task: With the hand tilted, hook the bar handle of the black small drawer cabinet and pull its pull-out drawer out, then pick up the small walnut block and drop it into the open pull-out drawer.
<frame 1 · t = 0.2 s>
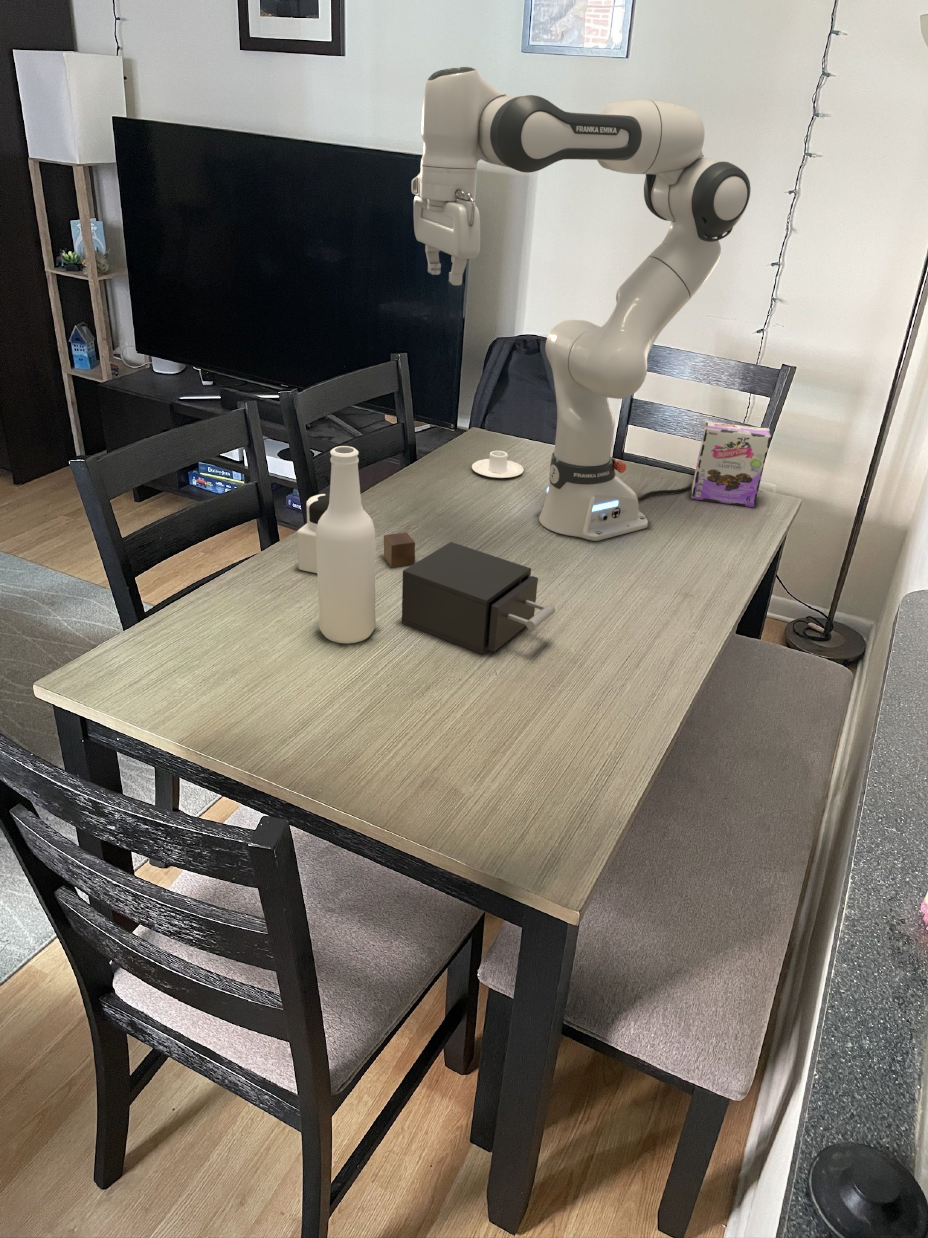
hand: (444, 279, 148), 48 cm above the table, tool pointing down, fingers open, 8 cm apart
small drawer cabinet: (464, 621, 146), on the table
container: (327, 566, 161), on the table
candle holder: (497, 471, 206), on the table
block: (399, 560, 164), on the table
pull-out drawer: (491, 604, 142), point 5 cm above the table, slide at 0.5 cm
candy box: (722, 499, 199), on the table
alcohol: (347, 631, 142), on the table
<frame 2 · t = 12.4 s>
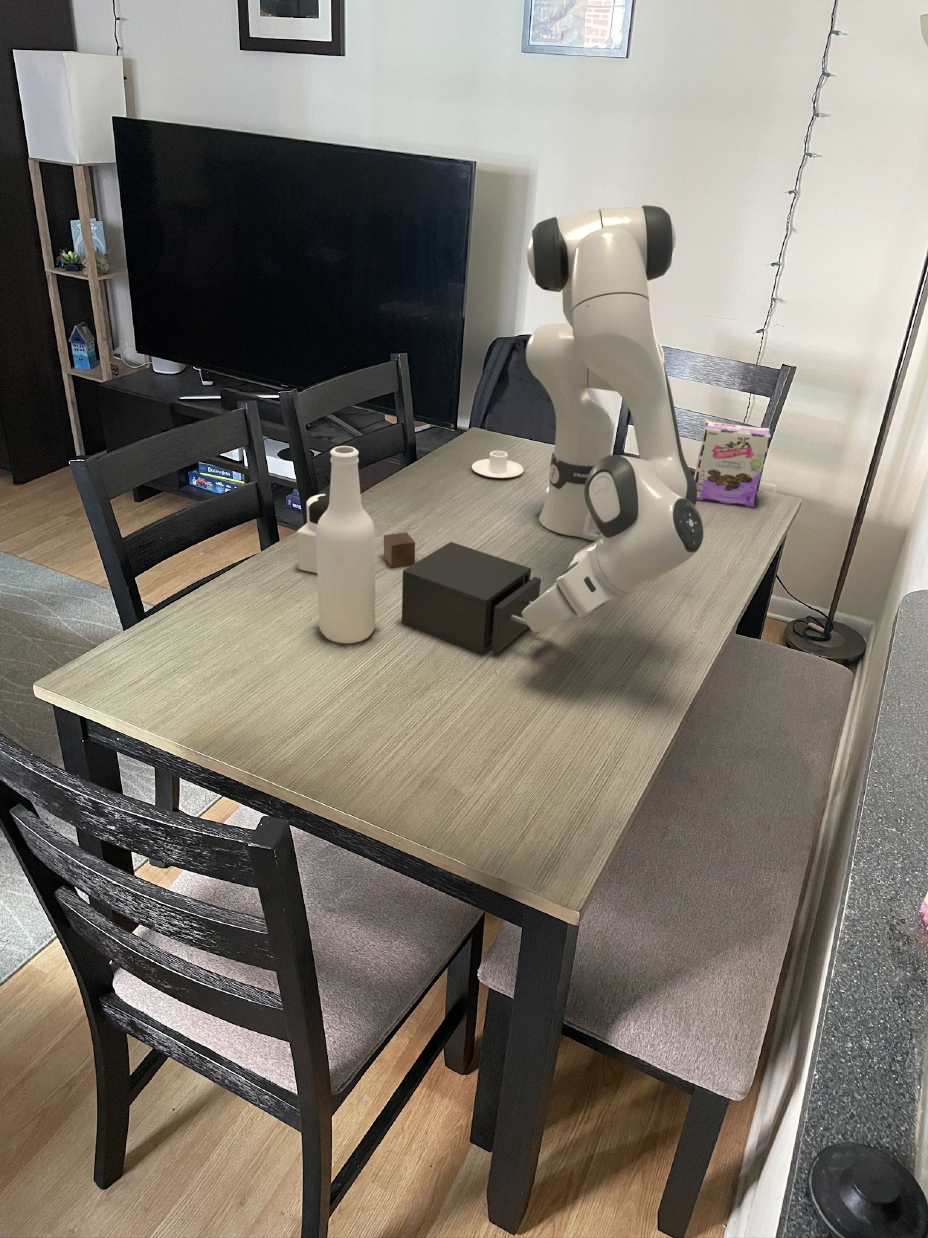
hand: (536, 610, 137), 7 cm above the table, tool tilted 45°, fingers closed, pressing on pull-out drawer
pull-out drawer: (493, 605, 141), point 5 cm above the table, slide at 1.1 cm, touching gripper
everything else where it was.
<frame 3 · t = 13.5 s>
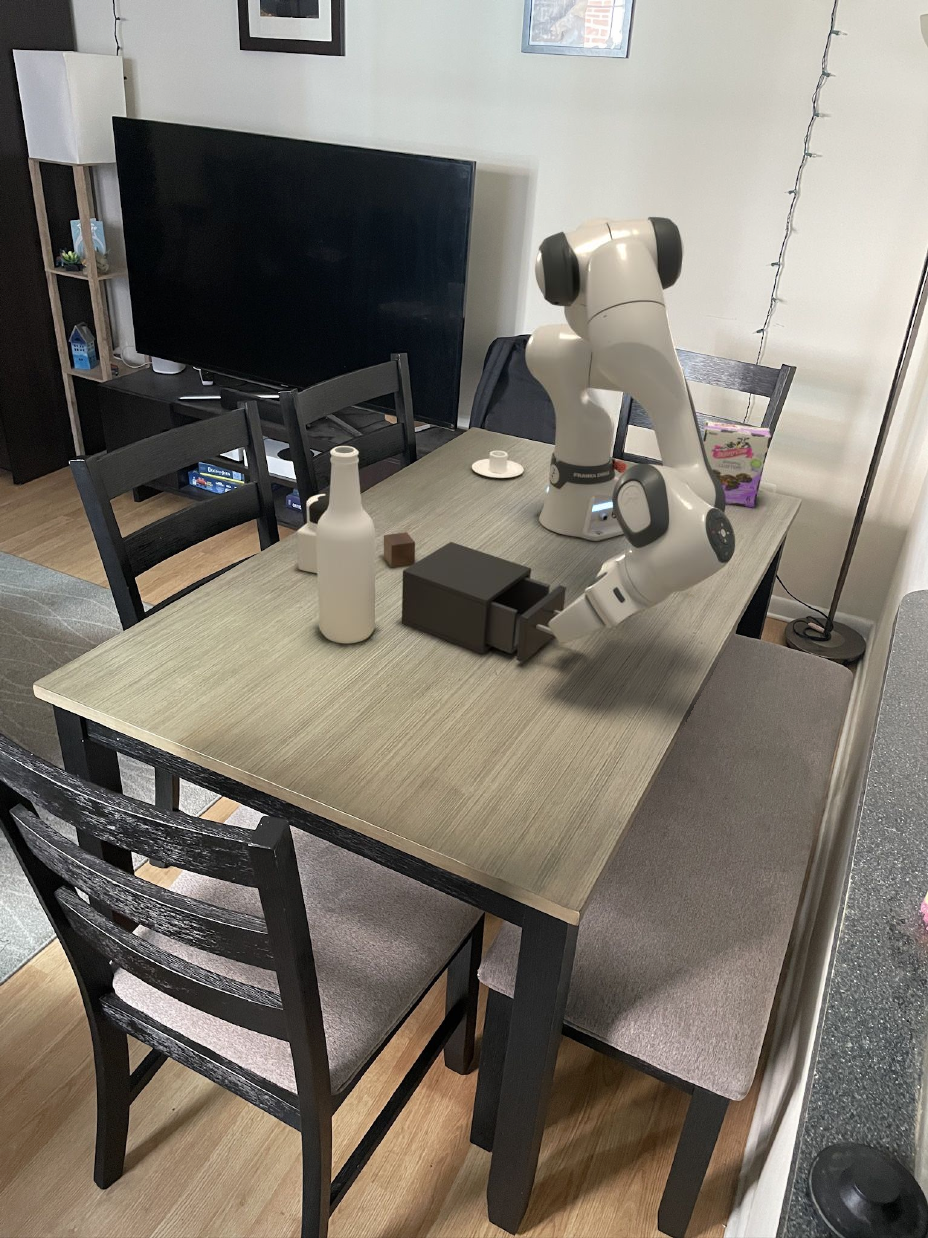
hand: (561, 620, 135), 7 cm above the table, tool tilted 45°, fingers closed, pressing on pull-out drawer
pull-out drawer: (518, 614, 139), point 5 cm above the table, slide at 5.6 cm, touching gripper
everything else where it was.
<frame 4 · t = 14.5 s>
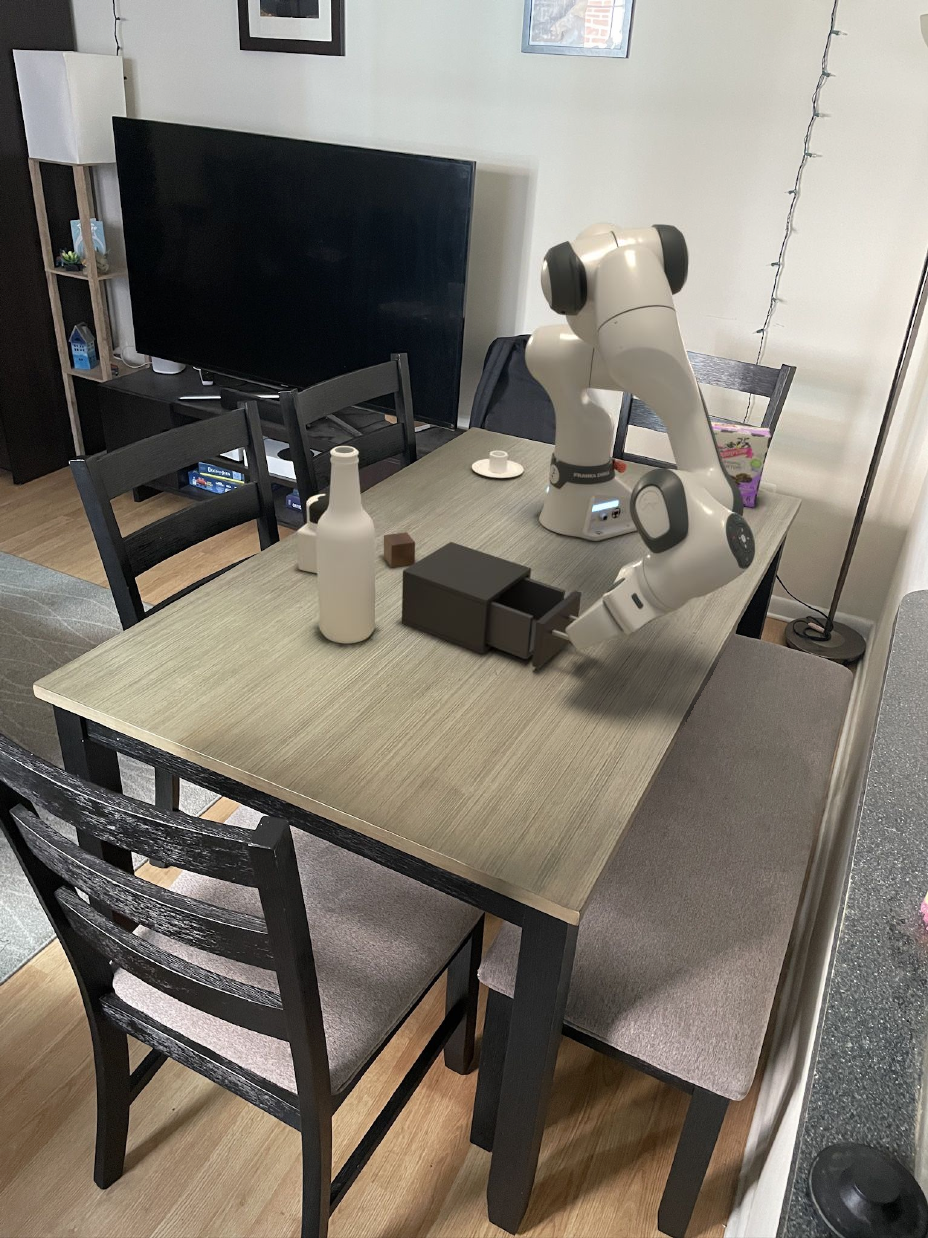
hand: (576, 626, 134), 7 cm above the table, tool tilted 45°, fingers closed, pressing on pull-out drawer
pull-out drawer: (533, 620, 138), point 5 cm above the table, slide at 8.2 cm, touching gripper
everything else where it was.
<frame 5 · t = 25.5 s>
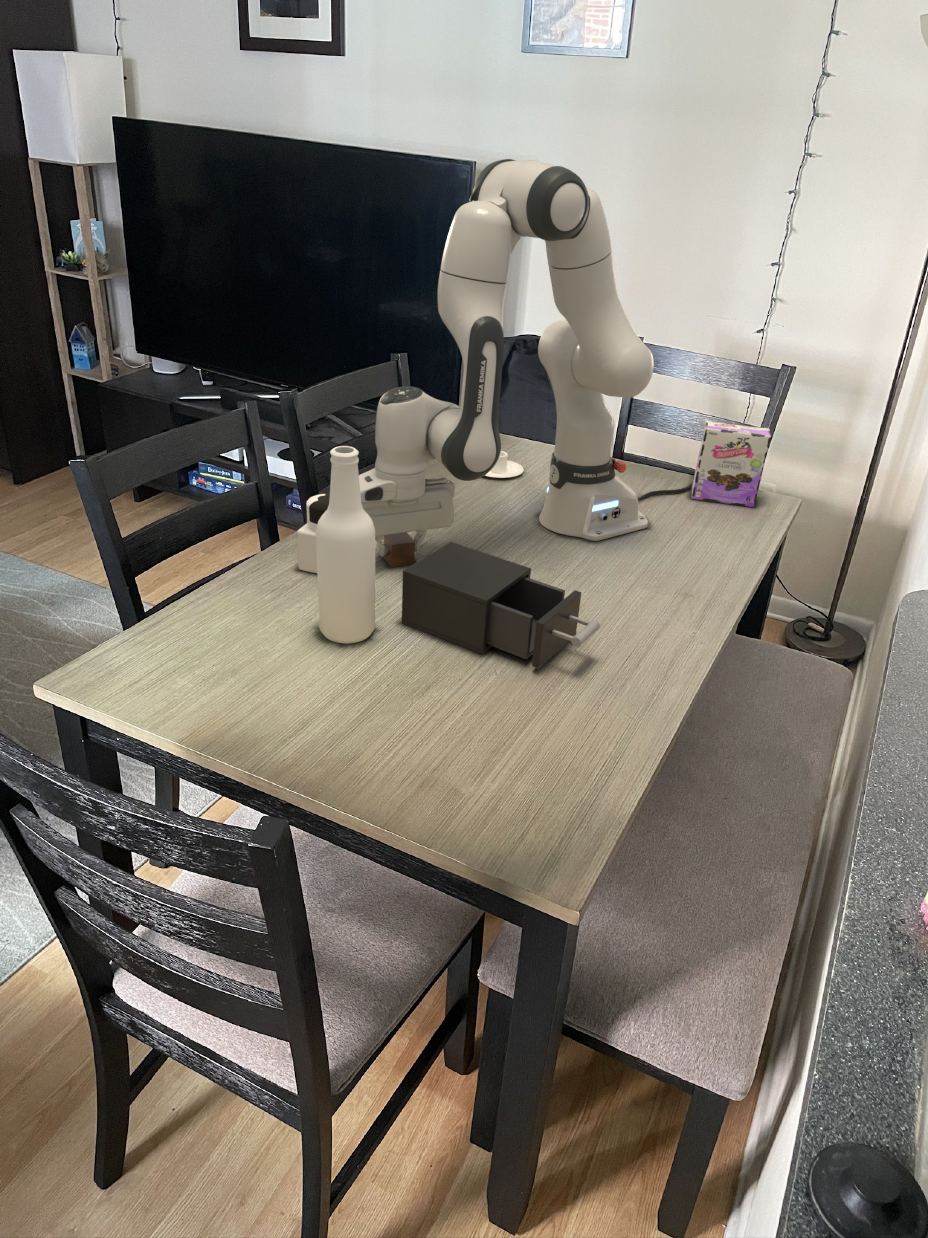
hand: (399, 552, 163), 2 cm above the table, tool pointing down, fingers closed on block, 4 cm apart
block: (399, 560, 164), on the table, touching gripper
pull-out drawer: (533, 620, 138), point 5 cm above the table, slide at 8.2 cm
everything else where it was.
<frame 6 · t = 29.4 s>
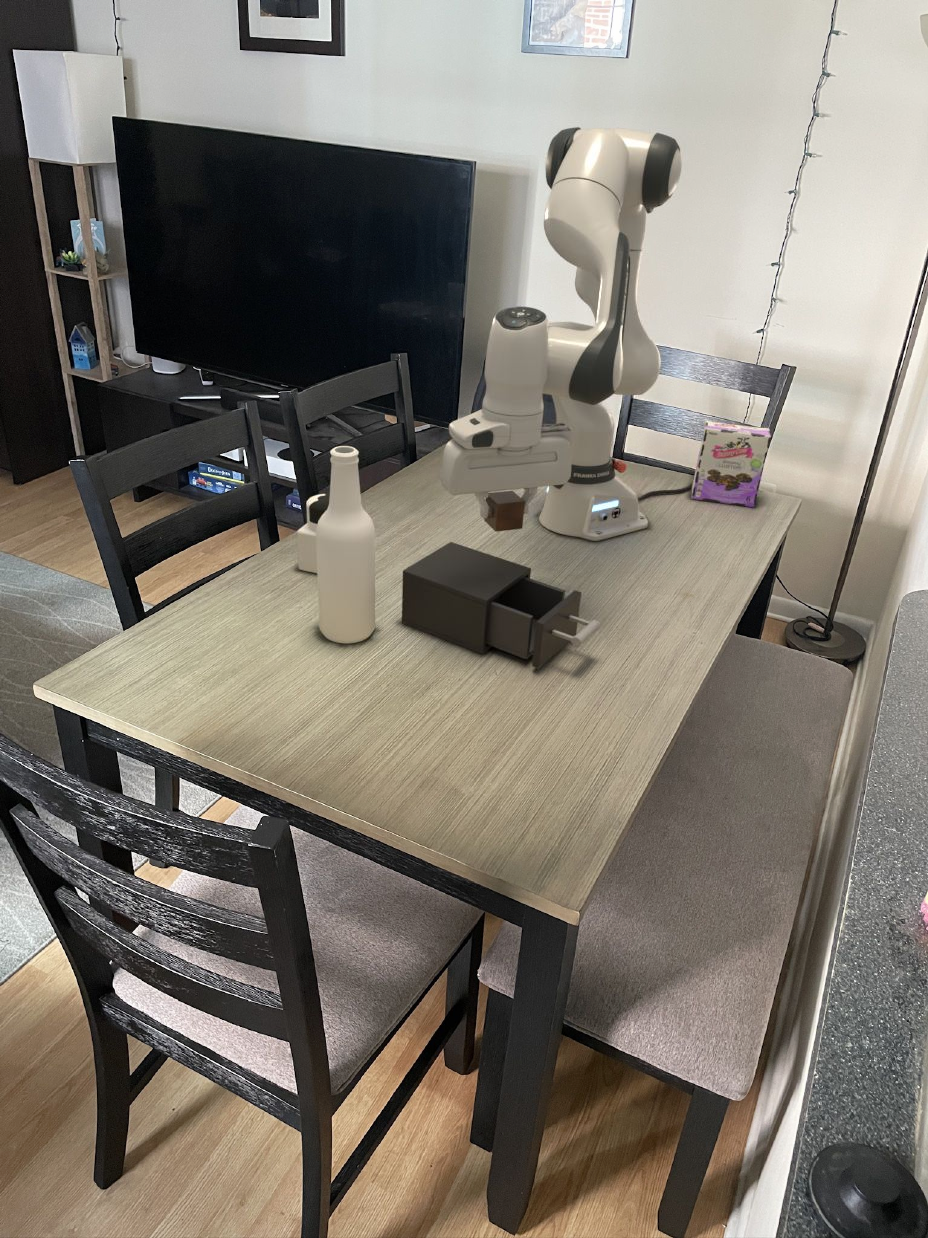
hand: (503, 514, 136), 19 cm above the table, tool pointing down, fingers closed on block, 4 cm apart
block: (503, 524, 137), point 18 cm above the table, touching gripper
everything else where it was.
when the fingers open (8 cm above the table, at t = 33.3 s): block drops 4 cm, resting on pull-out drawer.
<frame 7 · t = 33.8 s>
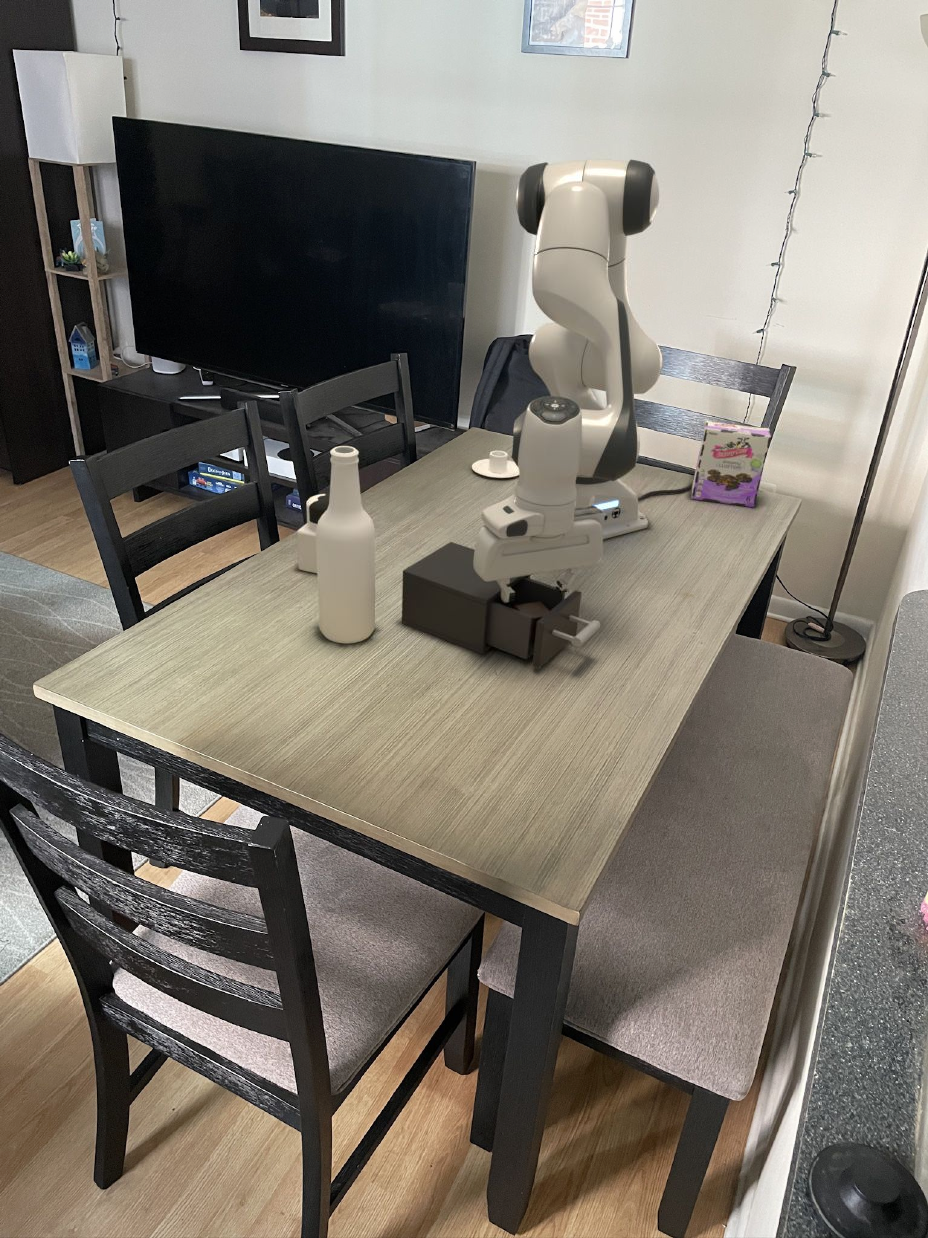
hand: (535, 595, 136), 9 cm above the table, tool pointing down, fingers open, 8 cm apart
block: (531, 634, 140), point 2 cm above the table, touching pull-out drawer
pull-out drawer: (533, 620, 138), point 5 cm above the table, slide at 8.3 cm, touching block
everything else where it was.
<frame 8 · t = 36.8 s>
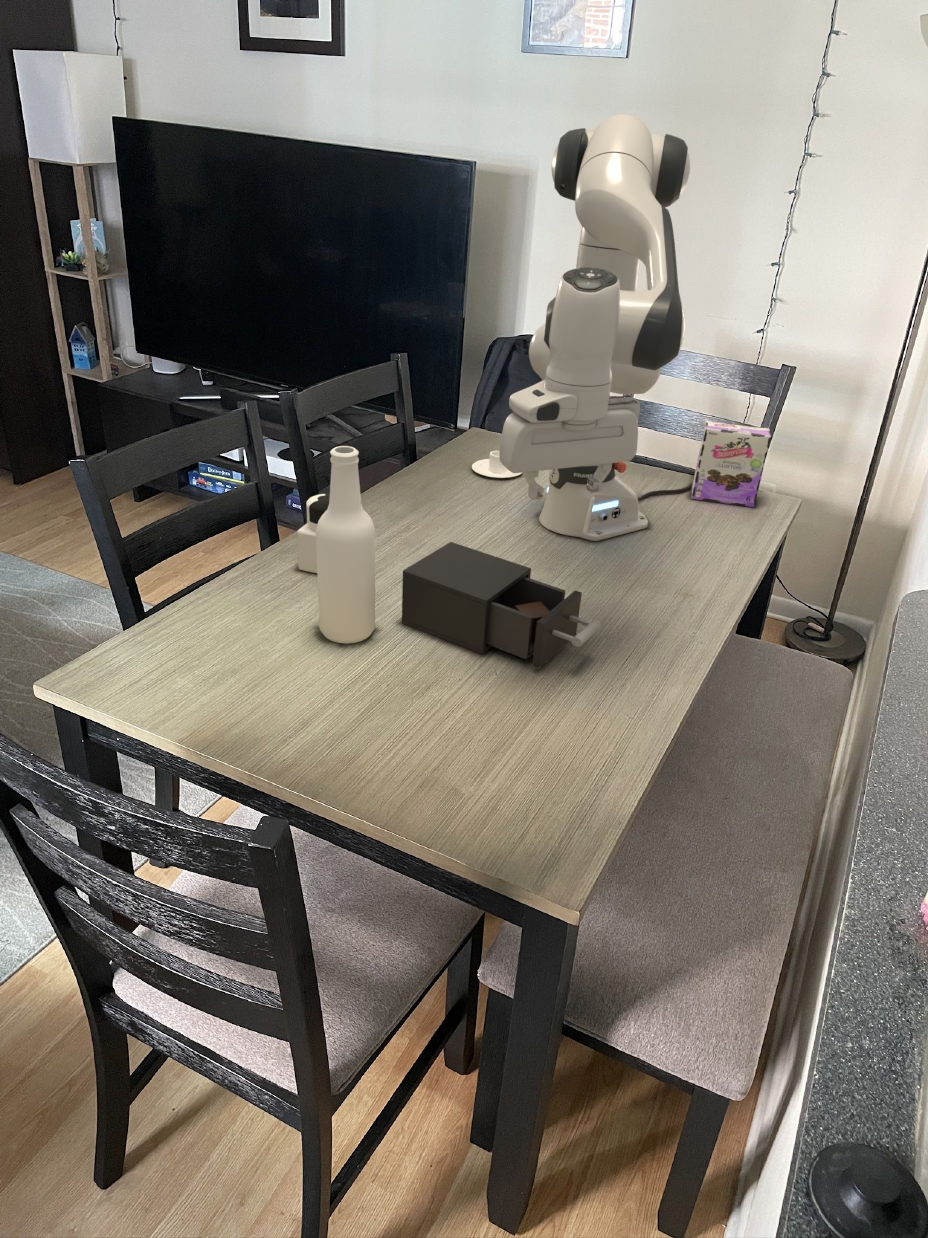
hand: (564, 494, 127), 26 cm above the table, tool pointing down, fingers open, 8 cm apart
nothing on the table moved.
at the end: pull-out drawer slide at 8.3 cm; block inside the target area in the pull-out drawer (0.3 cm from its centre), point 2.0 cm above the small drawer cabinet's base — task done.
